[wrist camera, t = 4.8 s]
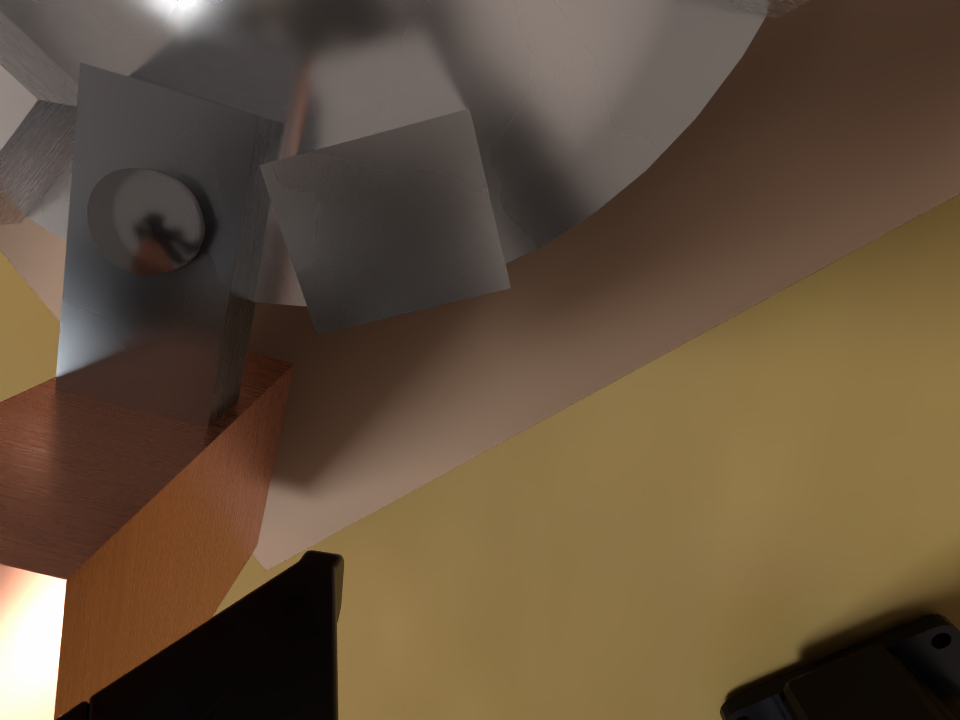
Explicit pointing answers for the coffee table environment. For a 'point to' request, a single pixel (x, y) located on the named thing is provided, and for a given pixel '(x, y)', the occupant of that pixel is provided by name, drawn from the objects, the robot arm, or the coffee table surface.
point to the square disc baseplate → (614, 264)
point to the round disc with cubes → (272, 251)
